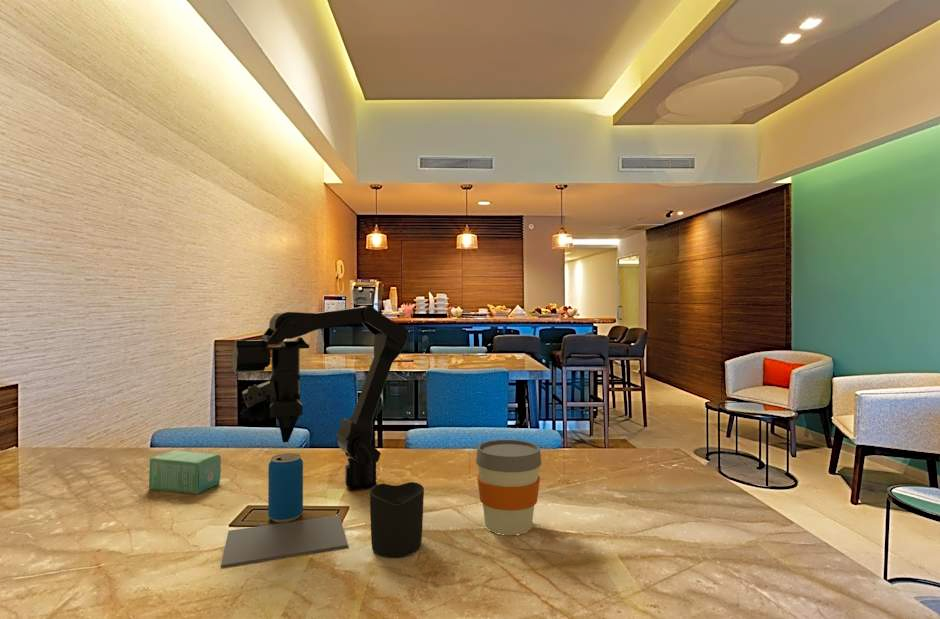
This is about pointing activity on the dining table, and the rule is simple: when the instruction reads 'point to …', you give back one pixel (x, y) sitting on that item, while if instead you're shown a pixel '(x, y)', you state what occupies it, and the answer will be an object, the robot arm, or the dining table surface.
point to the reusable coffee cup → (508, 484)
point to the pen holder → (396, 519)
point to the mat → (283, 540)
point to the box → (184, 471)
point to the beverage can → (285, 487)
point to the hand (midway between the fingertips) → (285, 441)
